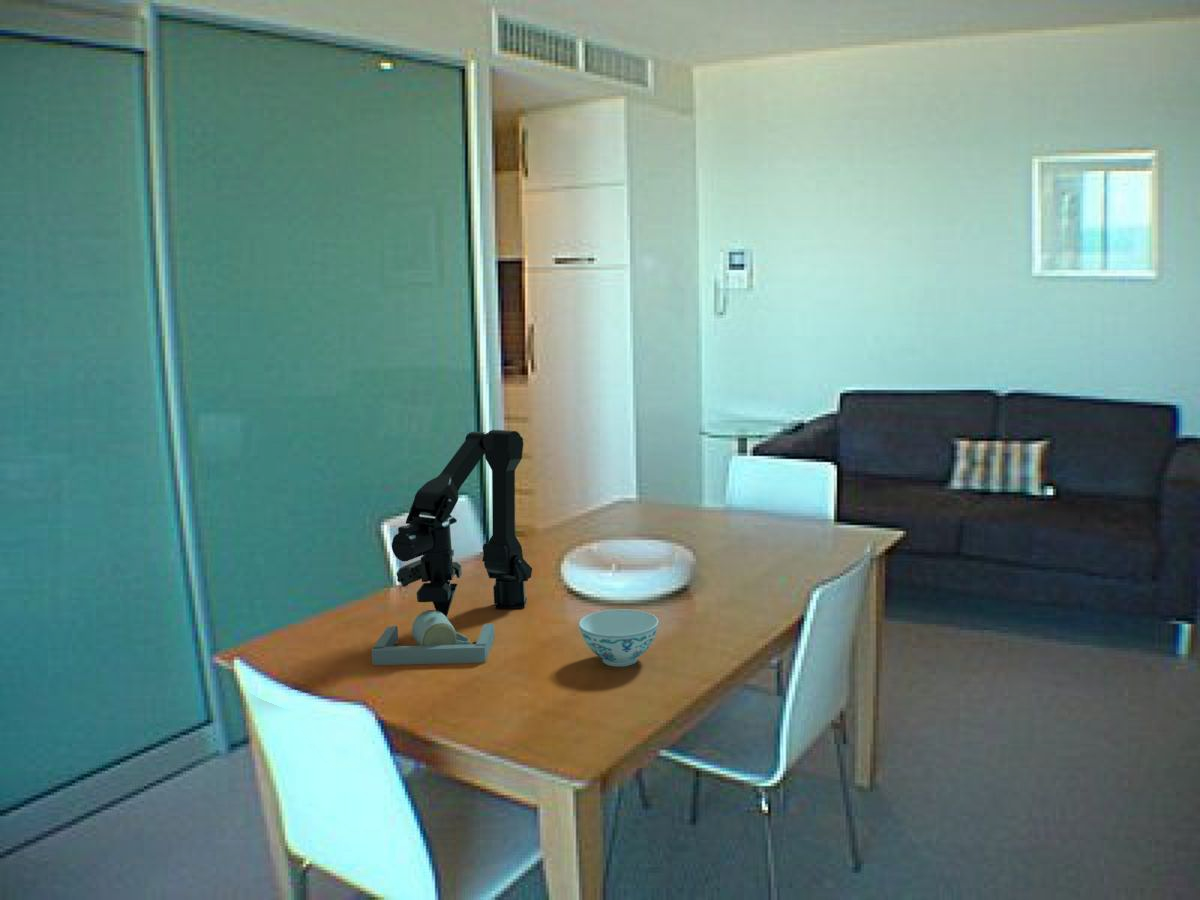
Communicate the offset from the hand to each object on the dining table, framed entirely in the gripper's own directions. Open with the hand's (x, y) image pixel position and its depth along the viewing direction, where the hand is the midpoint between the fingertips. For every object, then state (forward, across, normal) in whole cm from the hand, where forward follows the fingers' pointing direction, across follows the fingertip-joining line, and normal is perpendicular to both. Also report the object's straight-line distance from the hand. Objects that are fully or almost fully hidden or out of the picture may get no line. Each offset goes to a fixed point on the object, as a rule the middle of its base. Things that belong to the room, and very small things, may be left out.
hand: (442, 621), depth 224 cm
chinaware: (+4, +16, +37) cm, 40 cm away
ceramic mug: (+4, +8, +1) cm, 9 cm away
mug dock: (+3, +8, 0) cm, 9 cm away
